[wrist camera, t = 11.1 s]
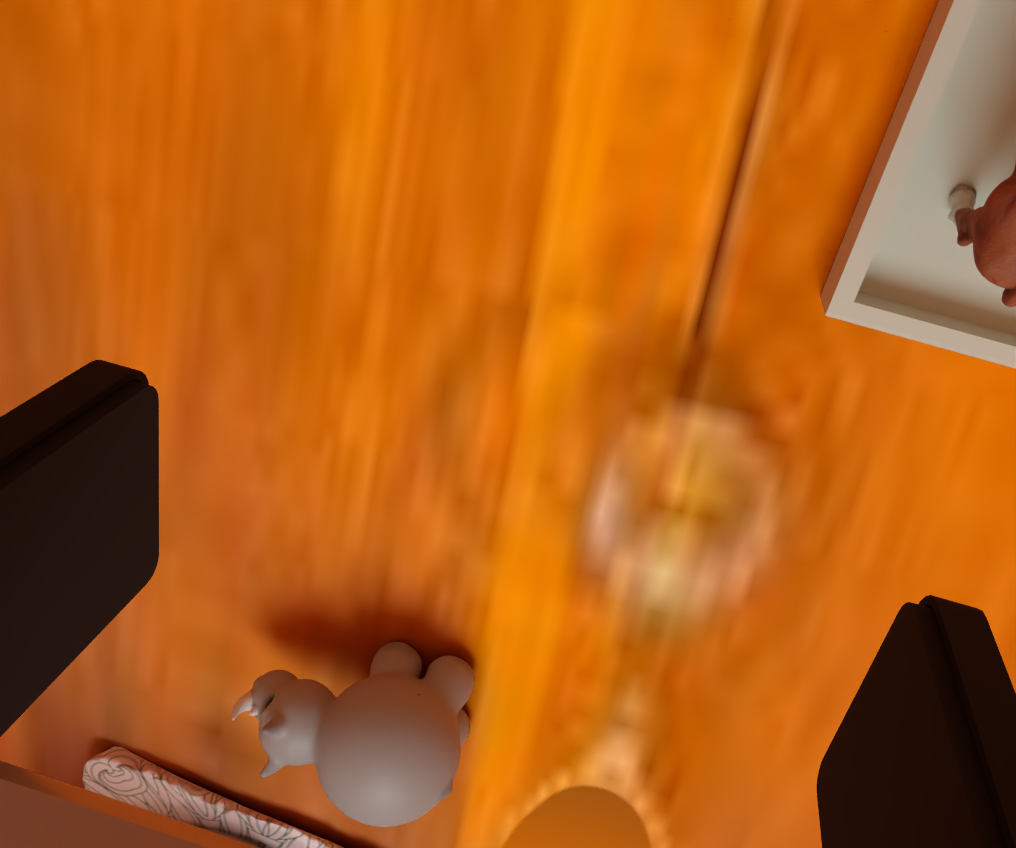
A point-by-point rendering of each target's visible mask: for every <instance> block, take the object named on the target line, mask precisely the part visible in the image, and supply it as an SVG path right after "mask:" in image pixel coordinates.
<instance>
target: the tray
mask: <svg viewBox="0 0 1016 848" xmlns="http://www.w3.org/2000/svg"><path fill="white" fill-rule="evenodd" d="M1015 163H1016V0H939V1H938V4H937V6H936V9H935V11H934V14H933V16H932V19H931V21H930V24H929V26H928V29H927V31H926V34H925V36H924V38H923V41H922V43H921V46H920V48H919V51H918V53H917V56H916V58H915V61H914V63H913V66H912V68H911V71H910V73H909V76H908V78H907V81H906V83H905V86H904V88H903V91H902V93H901V96H900V98H899V101H898V103H897V106H896V108H895V111H894V113H893V116H892V118H891V121H890V123H889V126H888V128H887V131H886V133H885V136H884V138H883V141H882V143H881V146H880V148H879V151H878V153H877V156H876V158H875V161H874V163H873V166H872V168H871V171H870V173H869V176H868V178H867V181H866V183H865V186H864V188H863V191H862V193H861V196H860V198H859V201H858V203H857V206H856V208H855V211H854V213H853V216H852V218H851V221H850V223H849V226H848V228H847V230H846V233H845V235H844V238H843V240H842V243H841V245H840V248H839V250H838V253H837V255H836V258H835V260H834V263H833V265H832V268H831V270H830V273H829V275H828V278H827V280H826V283H825V285H824V288H823V290H822V293H821V295H820V297H821V301H822V305H823V308H824V312H825V315H826V316H829V317H833V318H836V319H840V320H843V321H847V322H851V323H854V324H858V325H861V326H865V327H869V328H872V329H876V330H879V331H883V332H887V333H890V334H894V335H897V336H901V337H904V338H908V339H912V340H915V341H919V342H922V343H926V344H930V345H933V346H937V347H940V348H944V349H947V350H951V351H955V352H958V353H962V354H965V355H969V356H973V357H976V358H980V359H983V360H987V361H991V362H994V363H998V364H1001V365H1005V366H1008V367H1012V368H1016V306H1014V307H1008V306H1006V305H1004V304H1003V303H1002V294H1003V291H1004V289H1005V288H1002V287H999V286H997V285H995V284H993V283H991V282H989V281H988V280H986V279H985V278H984V277H983V276H982V275H981V273H980V272H979V271H978V269H977V267H976V265H975V261H974V255H973V243H971V244H969V245H967V246H960V245H958V243H957V237H958V232H957V227H956V225H955V223H953V222H952V221H951V220H949V219H948V215H949V213H950V212H951V209H952V208H951V207H950V206H949V196H950V193H951V192H952V191H953V190H954V189H955V188H956V187H957V186H959V185H967V186H970V187H973V188H974V189H975V190H976V194H977V195H976V204H975V206H974V210H975V209H977V208H979V207H982V206H984V204H985V202H986V200H987V198H988V197H989V195H990V193H991V192H992V191H993V190H994V189H995V188H996V187H997V186H998V185H999V184H1000V183H1001V182H1003V181H1004V180H1006V179H1008V178H1009V177H1010V176H1011V175H1012V173H1013V171H1014V169H1015Z"/></svg>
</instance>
